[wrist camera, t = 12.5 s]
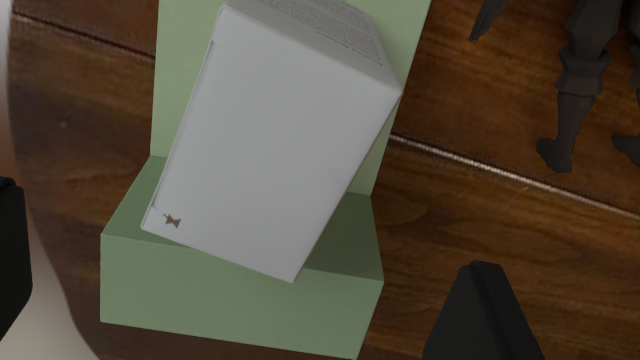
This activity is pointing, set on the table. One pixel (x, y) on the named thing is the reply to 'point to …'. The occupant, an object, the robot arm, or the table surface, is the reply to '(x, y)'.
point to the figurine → (580, 71)
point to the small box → (274, 132)
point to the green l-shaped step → (230, 278)
